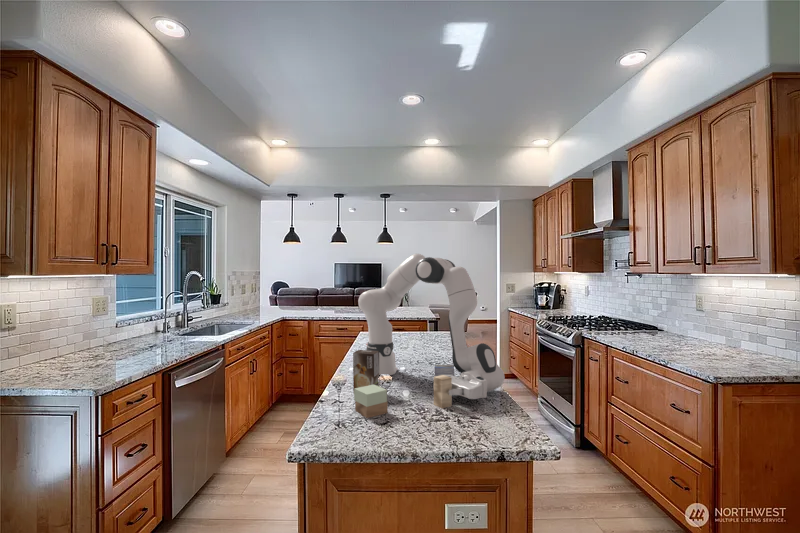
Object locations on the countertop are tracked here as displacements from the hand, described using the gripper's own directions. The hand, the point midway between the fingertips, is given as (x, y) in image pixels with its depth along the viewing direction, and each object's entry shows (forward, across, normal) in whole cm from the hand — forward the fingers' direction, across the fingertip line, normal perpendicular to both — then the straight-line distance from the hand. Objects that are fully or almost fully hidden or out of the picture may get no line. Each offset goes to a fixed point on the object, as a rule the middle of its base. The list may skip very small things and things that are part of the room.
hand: (441, 389), depth 142 cm
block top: (+24, -9, +2) cm, 26 cm away
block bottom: (+24, -9, +6) cm, 26 cm away
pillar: (-1, 0, +6) cm, 6 cm away
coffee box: (+14, -28, +6) cm, 32 cm away
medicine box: (-15, -16, +6) cm, 23 cm away
